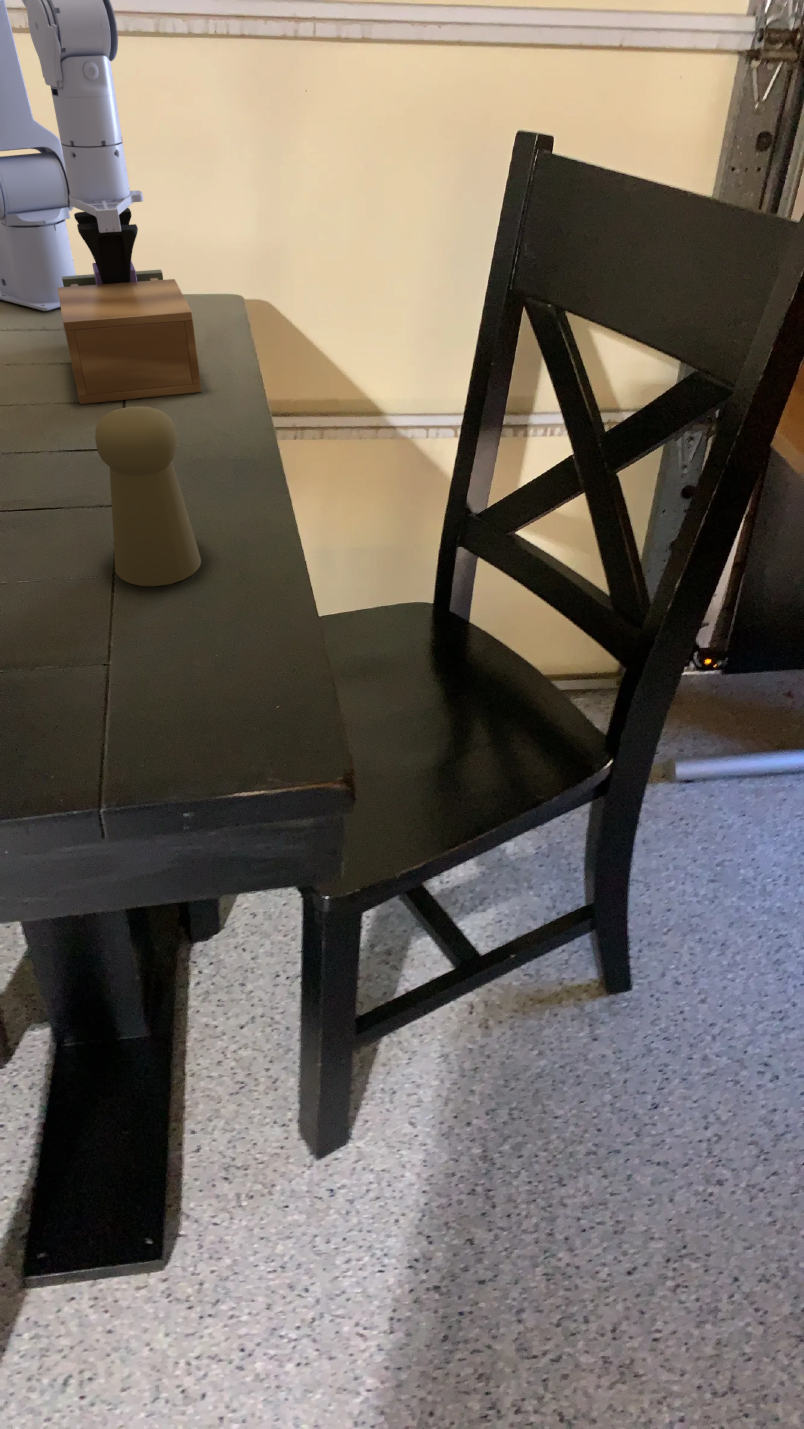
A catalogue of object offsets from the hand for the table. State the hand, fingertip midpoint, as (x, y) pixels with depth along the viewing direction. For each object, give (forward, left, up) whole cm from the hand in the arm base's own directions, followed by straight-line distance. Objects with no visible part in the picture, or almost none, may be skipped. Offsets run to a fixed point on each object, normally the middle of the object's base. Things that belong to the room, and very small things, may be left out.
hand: (117, 292), depth 99 cm
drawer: (-1, +1, -5) cm, 5 cm away
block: (0, 0, -1) cm, 1 cm away
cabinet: (+7, -5, -6) cm, 11 cm away
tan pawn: (+36, -31, -6) cm, 48 cm away
